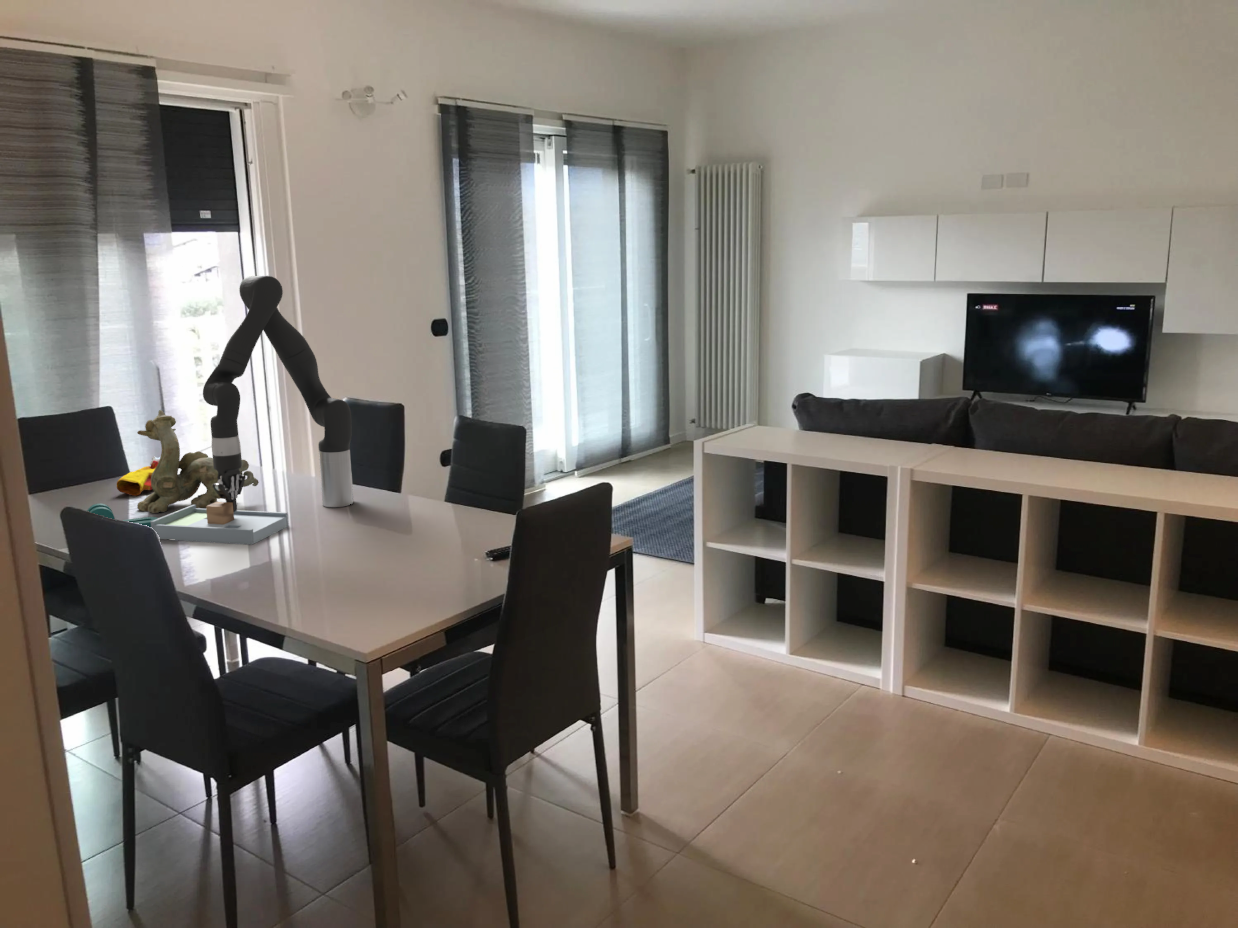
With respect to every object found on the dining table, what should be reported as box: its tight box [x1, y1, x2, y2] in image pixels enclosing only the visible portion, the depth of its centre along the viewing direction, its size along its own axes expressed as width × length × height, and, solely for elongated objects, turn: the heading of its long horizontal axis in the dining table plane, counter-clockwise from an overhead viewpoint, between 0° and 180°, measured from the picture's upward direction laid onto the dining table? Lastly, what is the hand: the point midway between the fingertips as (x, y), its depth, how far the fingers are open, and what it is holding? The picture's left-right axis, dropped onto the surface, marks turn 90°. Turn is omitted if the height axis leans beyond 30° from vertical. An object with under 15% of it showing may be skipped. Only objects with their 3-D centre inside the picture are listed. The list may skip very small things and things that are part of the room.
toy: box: [116, 456, 161, 497], centre depth 334 cm, size 9×13×30 cm
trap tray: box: [151, 504, 289, 546], centre depth 277 cm, size 19×30×5 cm, turn 79°
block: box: [205, 501, 234, 524], centre depth 277 cm, size 5×5×5 cm
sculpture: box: [136, 409, 260, 514], centre depth 307 cm, size 29×27×30 cm
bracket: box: [86, 503, 159, 527], centre depth 280 cm, size 18×7×8 cm, turn 121°
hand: (232, 511), depth 282 cm, fingers closed
